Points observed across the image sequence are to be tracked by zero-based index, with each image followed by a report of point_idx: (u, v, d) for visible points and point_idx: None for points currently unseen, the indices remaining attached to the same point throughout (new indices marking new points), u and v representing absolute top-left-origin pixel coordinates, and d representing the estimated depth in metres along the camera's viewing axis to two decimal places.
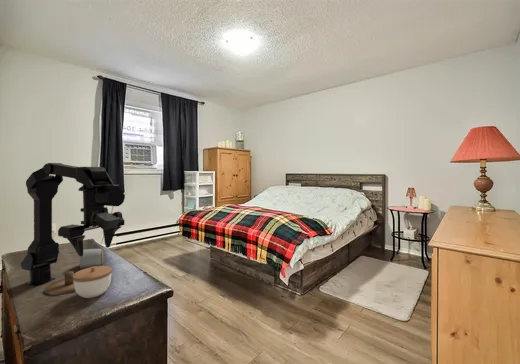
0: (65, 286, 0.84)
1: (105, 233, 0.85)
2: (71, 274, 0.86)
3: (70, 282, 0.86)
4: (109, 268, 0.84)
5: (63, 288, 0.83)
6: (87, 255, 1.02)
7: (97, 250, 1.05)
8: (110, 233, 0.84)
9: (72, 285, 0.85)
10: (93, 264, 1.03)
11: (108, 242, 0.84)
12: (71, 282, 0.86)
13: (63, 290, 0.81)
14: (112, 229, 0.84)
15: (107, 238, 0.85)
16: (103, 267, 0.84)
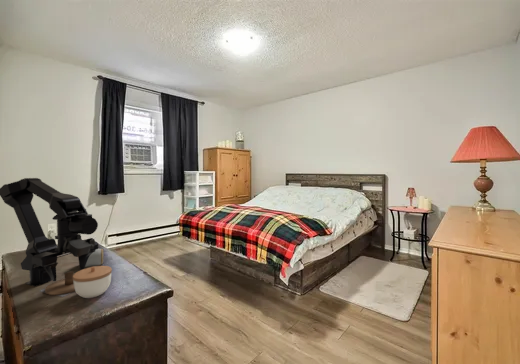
0: (65, 286, 0.84)
1: (80, 257, 0.91)
2: (71, 274, 0.86)
3: (70, 282, 0.86)
4: (109, 268, 0.84)
5: (63, 288, 0.83)
6: None
7: (97, 250, 1.05)
8: (84, 257, 0.90)
9: (72, 285, 0.85)
10: (93, 264, 1.03)
11: (82, 266, 0.90)
12: (71, 282, 0.86)
13: (63, 290, 0.81)
14: (86, 253, 0.90)
15: (81, 262, 0.91)
16: (103, 267, 0.84)
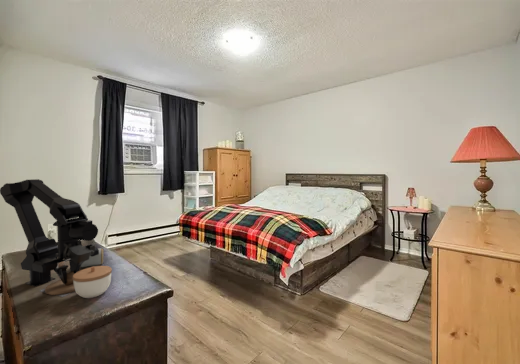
0: (65, 286, 0.84)
1: (71, 265, 0.88)
2: (71, 274, 0.86)
3: (70, 282, 0.86)
4: (109, 268, 0.84)
5: (63, 288, 0.83)
6: None
7: None
8: (76, 266, 0.88)
9: (72, 285, 0.85)
10: (93, 263, 1.04)
11: None
12: (71, 282, 0.86)
13: (63, 290, 0.81)
14: (78, 262, 0.87)
15: None
16: (103, 267, 0.84)
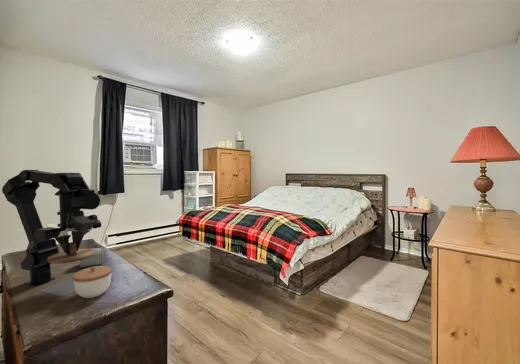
0: (67, 256, 0.83)
1: (73, 237, 0.87)
2: (73, 244, 0.85)
3: (72, 253, 0.84)
4: (109, 268, 0.84)
5: (65, 258, 0.82)
6: None
7: (97, 249, 1.06)
8: (78, 237, 0.86)
9: (75, 255, 0.84)
10: (93, 263, 1.04)
11: (76, 246, 0.86)
12: (73, 253, 0.85)
13: (66, 259, 0.80)
14: (80, 233, 0.86)
15: None
16: (103, 267, 0.84)
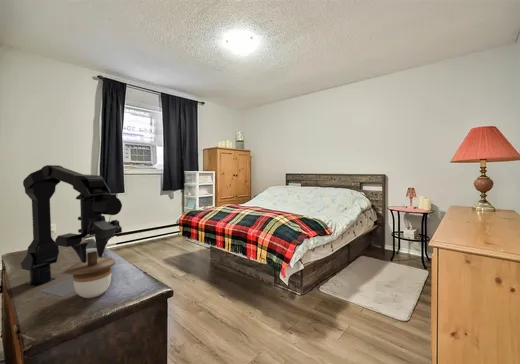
0: (88, 266, 0.79)
1: (97, 242, 0.84)
2: (94, 254, 0.80)
3: (93, 262, 0.80)
4: (109, 268, 0.84)
5: (87, 268, 0.77)
6: None
7: None
8: (102, 242, 0.83)
9: (96, 265, 0.80)
10: None
11: (100, 251, 0.83)
12: (94, 262, 0.80)
13: (88, 270, 0.76)
14: (104, 238, 0.83)
15: (99, 247, 0.83)
16: None
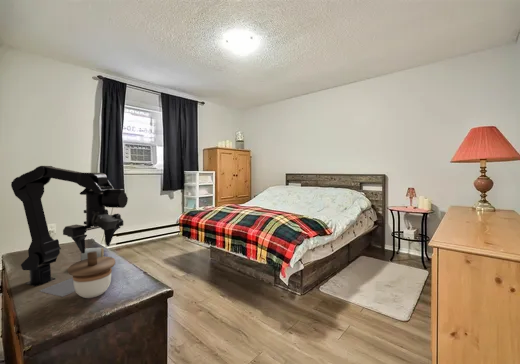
0: (89, 267, 0.79)
1: (106, 232, 0.94)
2: (94, 254, 0.80)
3: (93, 263, 0.80)
4: None
5: (87, 269, 0.77)
6: None
7: (97, 249, 1.07)
8: (110, 233, 0.93)
9: (96, 266, 0.80)
10: None
11: (108, 241, 0.93)
12: (94, 263, 0.80)
13: (88, 271, 0.76)
14: (112, 229, 0.93)
15: (107, 237, 0.93)
16: None
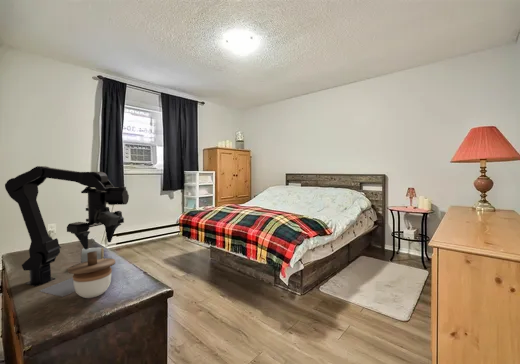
0: (89, 266, 0.79)
1: (107, 229, 0.97)
2: (94, 253, 0.81)
3: (93, 262, 0.80)
4: (109, 268, 0.84)
5: (87, 267, 0.77)
6: None
7: (97, 249, 1.07)
8: (111, 229, 0.96)
9: (96, 265, 0.80)
10: None
11: (109, 237, 0.96)
12: (94, 262, 0.80)
13: (88, 269, 0.76)
14: (113, 226, 0.96)
15: (108, 234, 0.96)
16: None
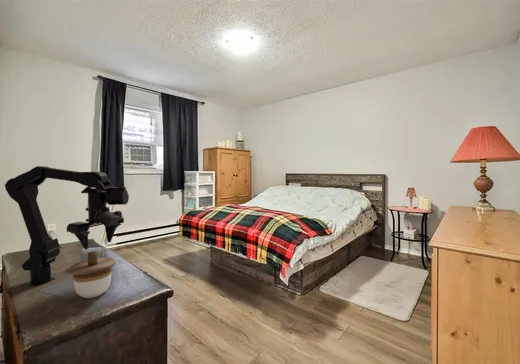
0: (89, 266, 0.79)
1: (107, 229, 0.97)
2: (95, 254, 0.80)
3: (94, 262, 0.80)
4: (109, 268, 0.84)
5: (87, 268, 0.77)
6: (87, 253, 1.04)
7: (97, 249, 1.07)
8: (111, 229, 0.96)
9: (96, 266, 0.80)
10: None
11: (109, 237, 0.96)
12: (95, 263, 0.80)
13: (88, 270, 0.76)
14: (113, 226, 0.96)
15: (108, 234, 0.96)
16: None
